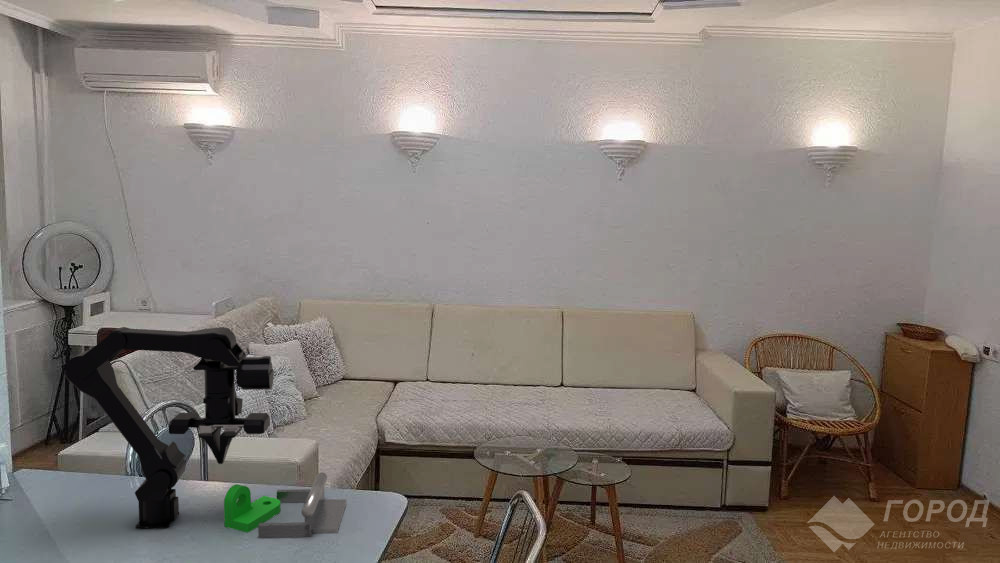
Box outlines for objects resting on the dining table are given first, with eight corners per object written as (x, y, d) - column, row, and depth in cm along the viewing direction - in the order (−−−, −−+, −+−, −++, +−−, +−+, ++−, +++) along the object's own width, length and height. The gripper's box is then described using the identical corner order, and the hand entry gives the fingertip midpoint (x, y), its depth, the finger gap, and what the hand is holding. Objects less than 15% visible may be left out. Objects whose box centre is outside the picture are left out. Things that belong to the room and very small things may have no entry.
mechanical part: (248, 533, 140) (247, 495, 139) (224, 527, 142) (223, 490, 141) (286, 509, 151) (286, 474, 150) (263, 504, 153) (263, 469, 153)
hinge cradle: (258, 537, 138) (257, 506, 137) (277, 500, 155) (277, 472, 154) (336, 536, 140) (336, 506, 139) (347, 499, 156) (347, 472, 156)
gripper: (275, 380, 151) (276, 449, 153) (186, 379, 150) (188, 449, 151) (263, 394, 140) (263, 468, 142) (166, 394, 139) (168, 469, 140)
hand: (221, 463), depth 144 cm, fingers closed
